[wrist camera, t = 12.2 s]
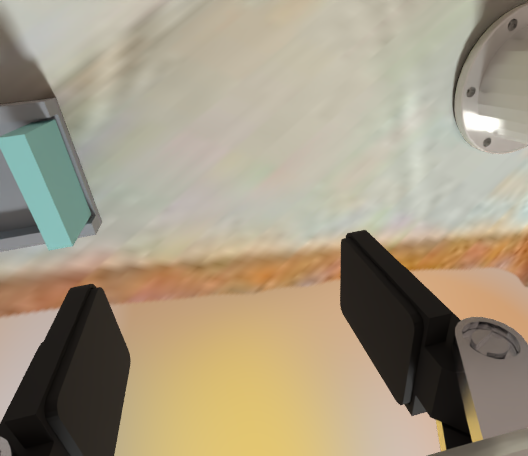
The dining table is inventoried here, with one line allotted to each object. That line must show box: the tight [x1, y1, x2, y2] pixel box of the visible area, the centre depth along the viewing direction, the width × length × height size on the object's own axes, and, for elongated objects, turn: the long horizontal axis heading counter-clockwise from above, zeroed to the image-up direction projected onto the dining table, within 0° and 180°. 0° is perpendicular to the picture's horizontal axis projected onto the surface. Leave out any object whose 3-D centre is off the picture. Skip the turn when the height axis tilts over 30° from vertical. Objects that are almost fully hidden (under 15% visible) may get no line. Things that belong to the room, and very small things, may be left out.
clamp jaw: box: [0, 119, 91, 250], centre depth 23 cm, size 2×7×5 cm, turn 5°
